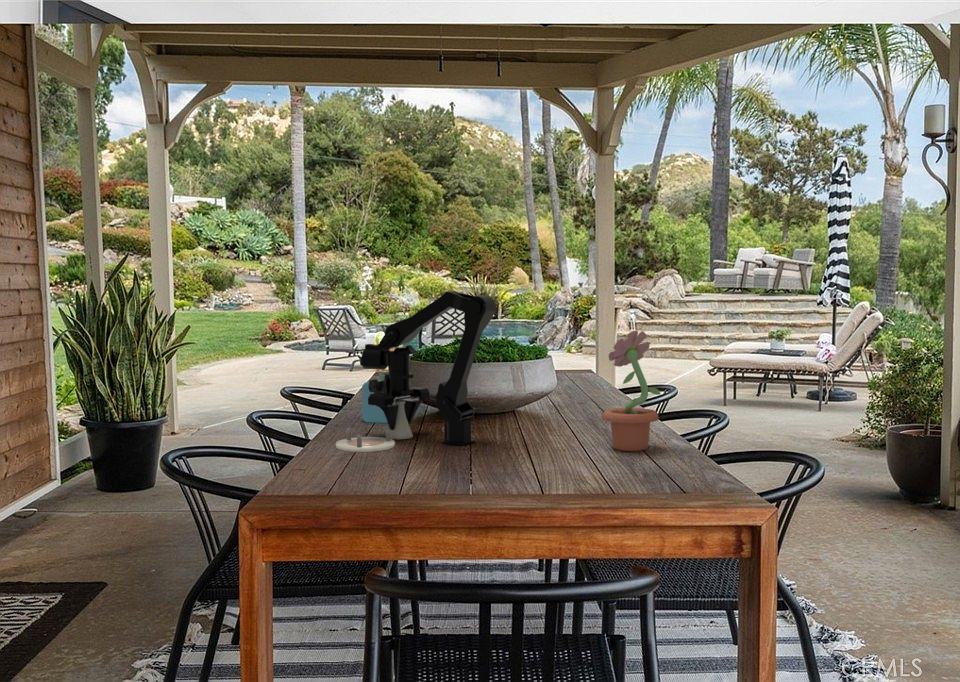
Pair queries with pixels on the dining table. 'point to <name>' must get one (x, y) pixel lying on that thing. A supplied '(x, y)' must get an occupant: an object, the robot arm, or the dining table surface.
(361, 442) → the pin cradle
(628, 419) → the decorative flower
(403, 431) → the flask
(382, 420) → the blue rounded slab
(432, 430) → the dining table surface
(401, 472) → the dining table surface
